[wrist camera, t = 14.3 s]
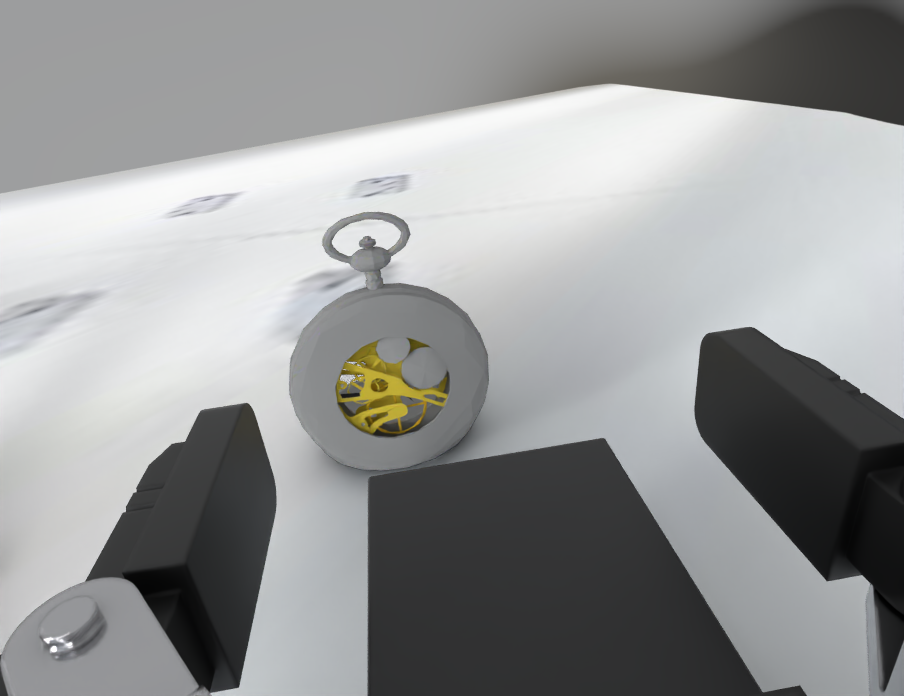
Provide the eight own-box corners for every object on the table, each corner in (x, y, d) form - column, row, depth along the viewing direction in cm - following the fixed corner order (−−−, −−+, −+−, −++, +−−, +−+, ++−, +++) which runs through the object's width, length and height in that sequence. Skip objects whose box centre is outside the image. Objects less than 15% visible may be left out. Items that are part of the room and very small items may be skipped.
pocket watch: (405, 373, 29) (370, 164, 24) (543, 432, 23) (532, 176, 19) (255, 456, 24) (177, 214, 19) (385, 557, 18) (318, 249, 14)
